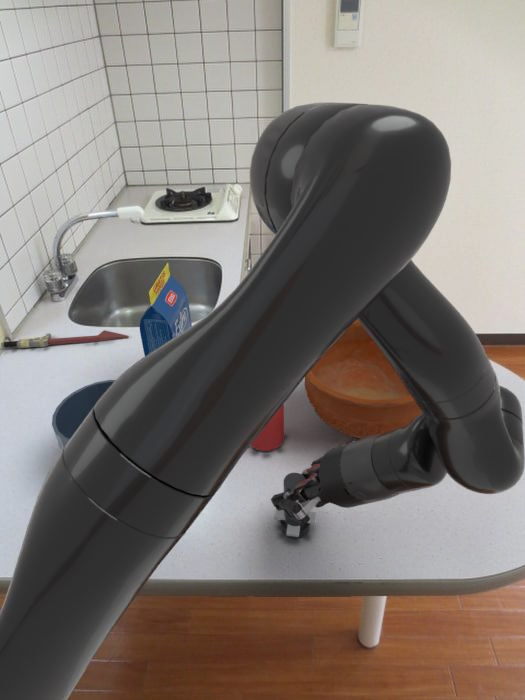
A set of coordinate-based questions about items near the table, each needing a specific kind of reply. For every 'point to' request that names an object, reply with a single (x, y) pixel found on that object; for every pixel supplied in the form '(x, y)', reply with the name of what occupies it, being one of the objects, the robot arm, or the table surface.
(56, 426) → the bowl
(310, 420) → the table surface
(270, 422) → the beer can
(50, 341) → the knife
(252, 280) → the robot arm
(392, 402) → the bowl
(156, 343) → the blue food package
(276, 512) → the dark grey cylinder
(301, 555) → the table surface
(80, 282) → the table surface
